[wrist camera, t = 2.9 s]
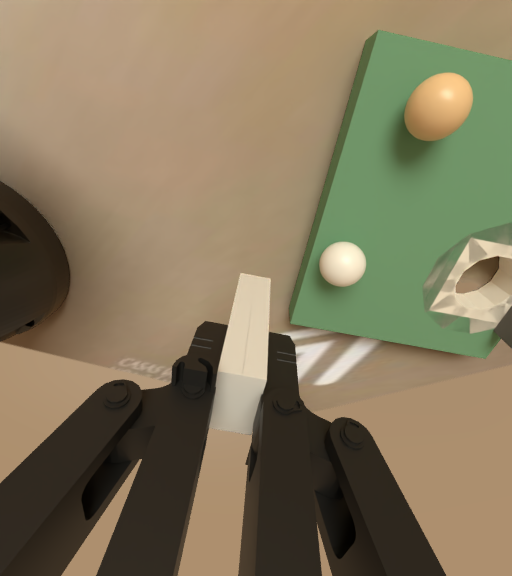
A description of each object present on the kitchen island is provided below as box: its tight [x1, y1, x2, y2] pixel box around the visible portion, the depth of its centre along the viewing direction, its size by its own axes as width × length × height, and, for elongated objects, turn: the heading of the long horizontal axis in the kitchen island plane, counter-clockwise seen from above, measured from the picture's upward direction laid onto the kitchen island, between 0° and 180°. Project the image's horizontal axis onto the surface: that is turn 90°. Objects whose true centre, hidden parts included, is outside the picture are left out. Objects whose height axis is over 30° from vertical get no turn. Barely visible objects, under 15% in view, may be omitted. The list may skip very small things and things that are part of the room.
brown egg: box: [404, 72, 473, 141], centre depth 16 cm, size 3×3×3 cm
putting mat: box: [289, 30, 512, 359], centre depth 21 cm, size 19×20×5 cm
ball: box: [319, 242, 366, 287], centre depth 21 cm, size 3×3×3 cm
